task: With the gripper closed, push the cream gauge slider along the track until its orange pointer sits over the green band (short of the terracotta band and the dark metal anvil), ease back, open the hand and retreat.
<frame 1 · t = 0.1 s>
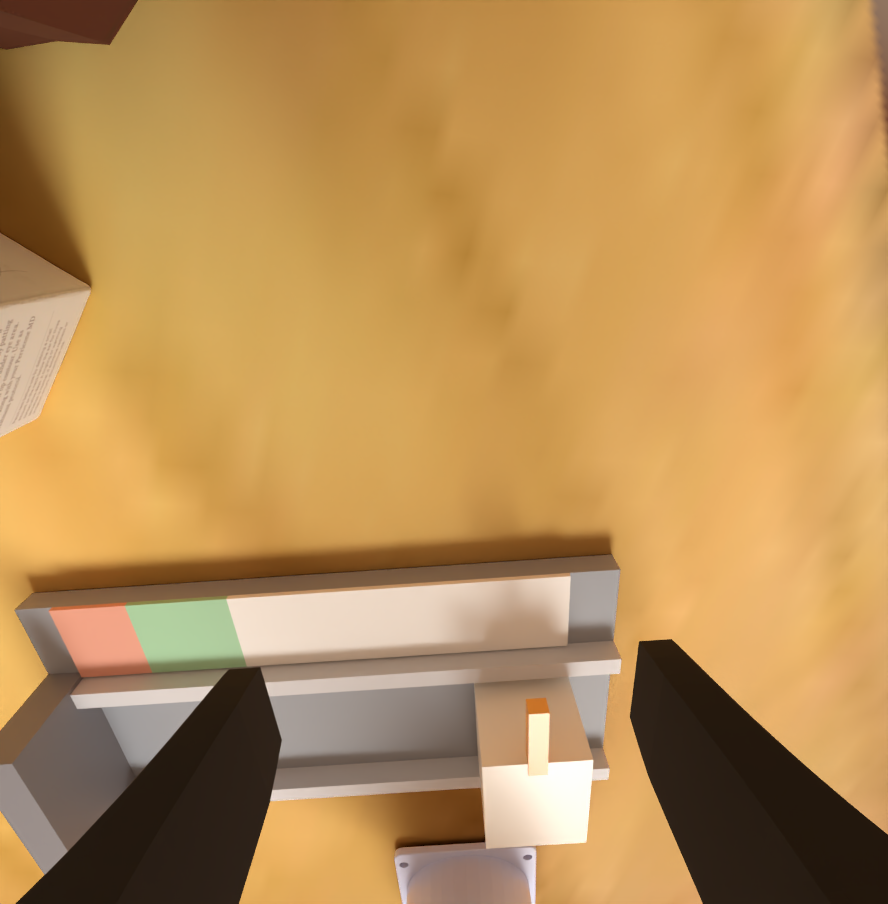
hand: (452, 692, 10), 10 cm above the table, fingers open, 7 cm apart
gauge board: (342, 679, 23), on the table
gauge slider: (528, 735, 20), point 3 cm above the table, slide at 0.0 cm
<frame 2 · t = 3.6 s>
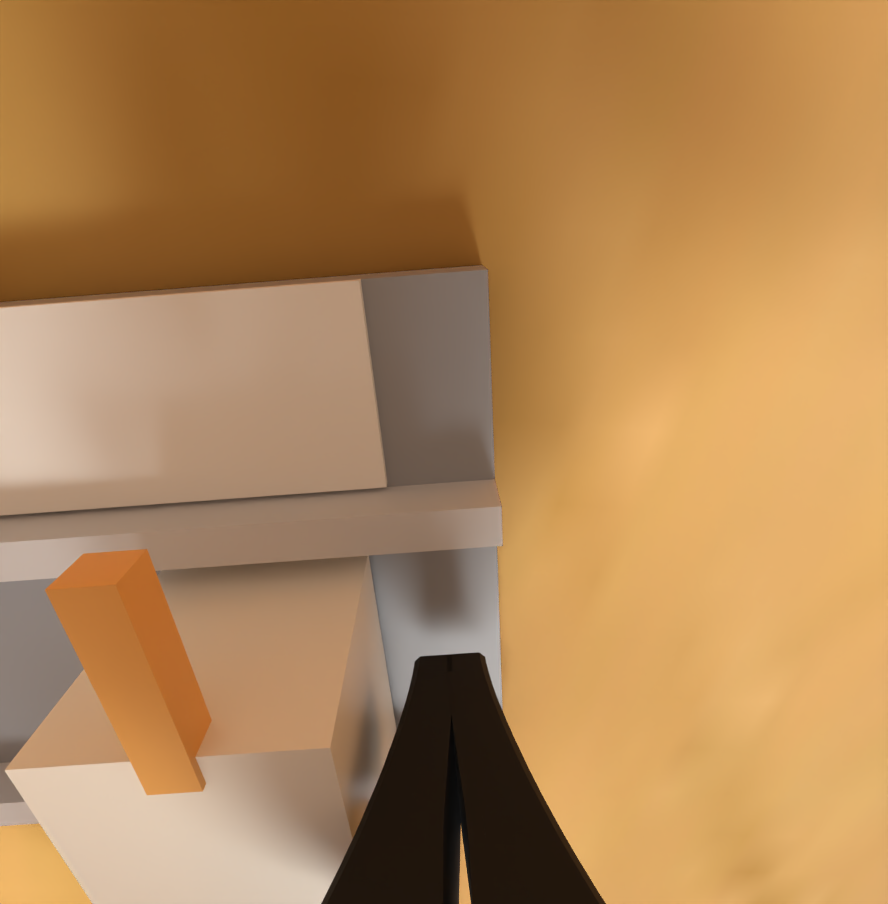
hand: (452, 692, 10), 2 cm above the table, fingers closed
gauge slider: (243, 691, 8), point 3 cm above the table, slide at 0.5 cm, touching gripper
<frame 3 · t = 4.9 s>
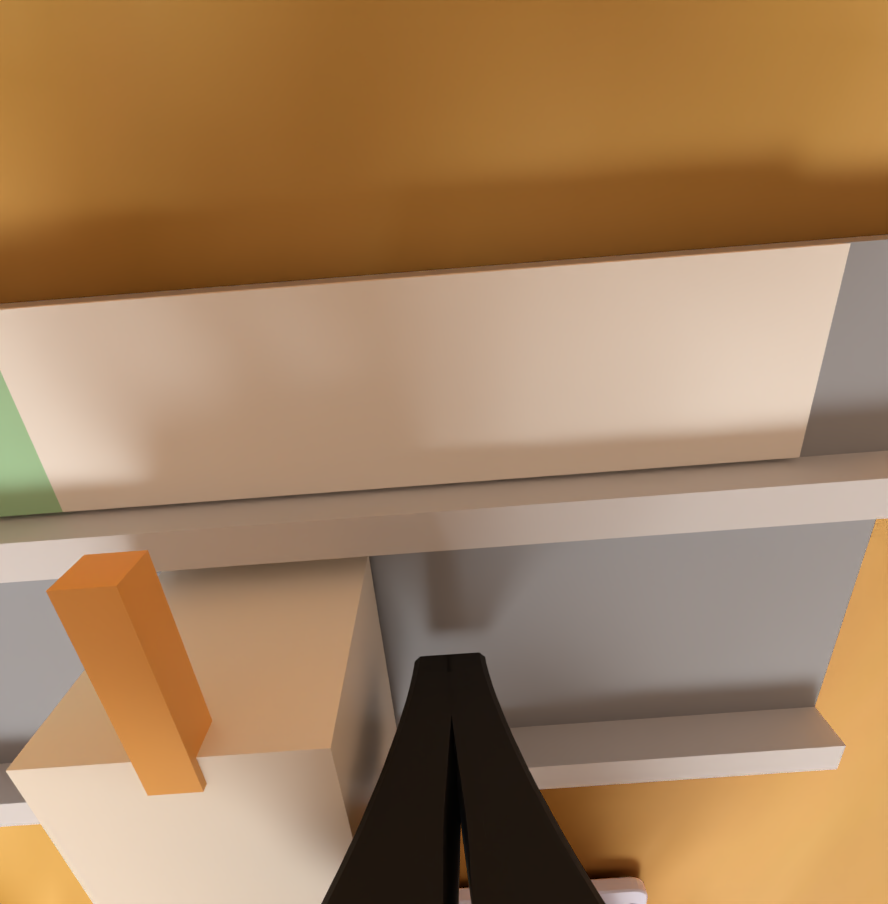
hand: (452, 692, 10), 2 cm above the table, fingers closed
gauge board: (293, 564, 11), on the table
gauge slider: (244, 691, 8), point 3 cm above the table, slide at 8.1 cm, touching gripper
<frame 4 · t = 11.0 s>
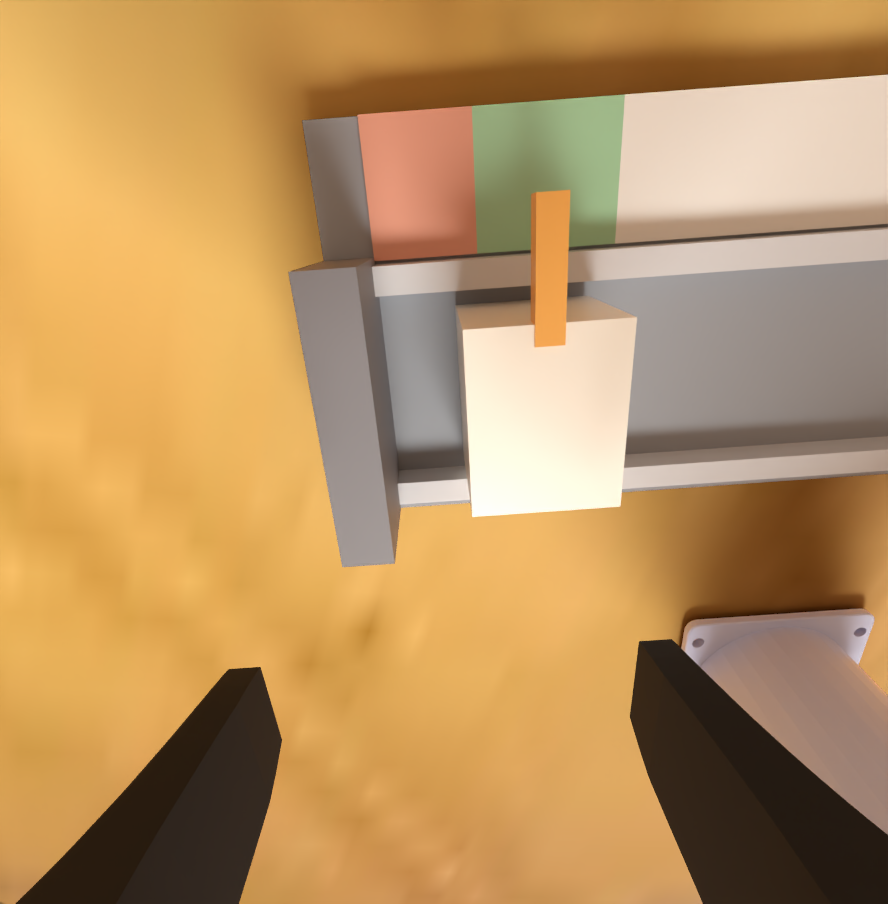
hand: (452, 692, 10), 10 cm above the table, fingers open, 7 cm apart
gauge board: (703, 313, 17), on the table
gauge slider: (533, 353, 14), point 3 cm above the table, slide at 14.2 cm
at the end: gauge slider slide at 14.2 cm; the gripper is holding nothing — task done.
